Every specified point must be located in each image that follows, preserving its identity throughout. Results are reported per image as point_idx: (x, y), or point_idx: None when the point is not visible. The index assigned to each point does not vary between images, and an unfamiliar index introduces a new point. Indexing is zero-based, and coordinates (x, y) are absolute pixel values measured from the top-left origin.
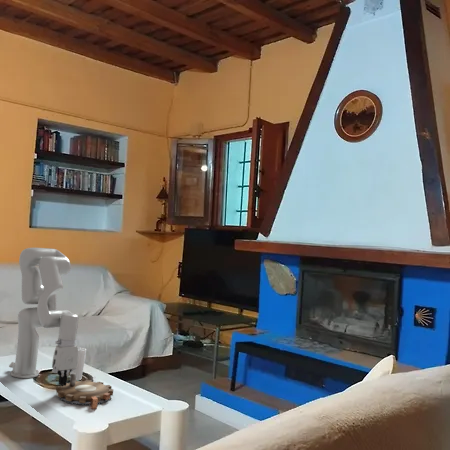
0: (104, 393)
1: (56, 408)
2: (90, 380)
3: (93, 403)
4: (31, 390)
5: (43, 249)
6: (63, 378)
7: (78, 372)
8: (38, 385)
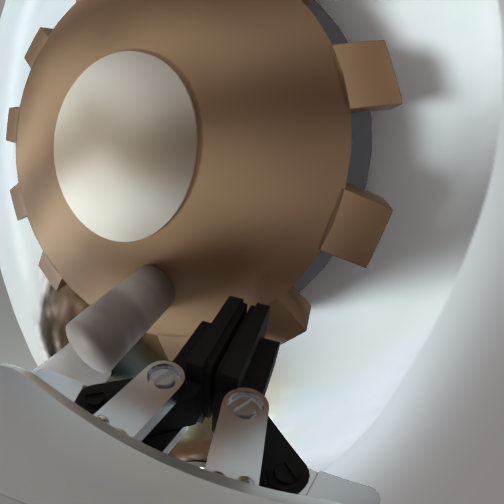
0: None
1: (497, 91)
2: (40, 266)
3: None
4: (343, 423)
5: None
6: (245, 364)
7: (62, 368)
8: None
